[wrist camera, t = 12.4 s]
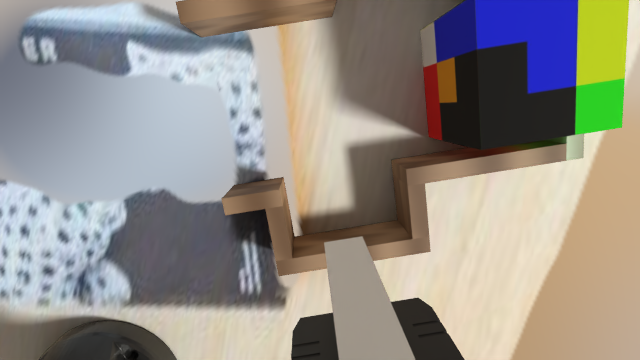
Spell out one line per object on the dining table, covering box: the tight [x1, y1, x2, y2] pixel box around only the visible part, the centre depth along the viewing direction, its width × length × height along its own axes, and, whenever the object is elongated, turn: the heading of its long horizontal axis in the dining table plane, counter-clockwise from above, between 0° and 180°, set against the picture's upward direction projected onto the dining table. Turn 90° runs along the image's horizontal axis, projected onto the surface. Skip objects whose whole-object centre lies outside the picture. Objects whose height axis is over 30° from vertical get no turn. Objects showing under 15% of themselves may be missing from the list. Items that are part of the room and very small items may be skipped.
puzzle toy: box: [420, 0, 629, 150], centre depth 26 cm, size 10×10×10 cm
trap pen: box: [176, 0, 584, 276], centre depth 29 cm, size 32×30×5 cm
